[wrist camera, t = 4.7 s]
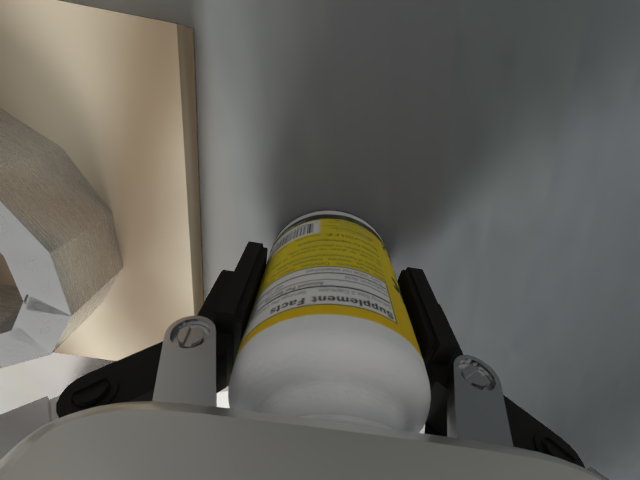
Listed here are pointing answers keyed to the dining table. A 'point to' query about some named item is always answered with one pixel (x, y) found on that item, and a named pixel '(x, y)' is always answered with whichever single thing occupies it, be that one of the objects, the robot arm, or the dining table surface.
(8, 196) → the steel ring collar
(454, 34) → the dining table surface
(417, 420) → the supplement bottle
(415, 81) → the dining table surface
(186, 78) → the fitting board
